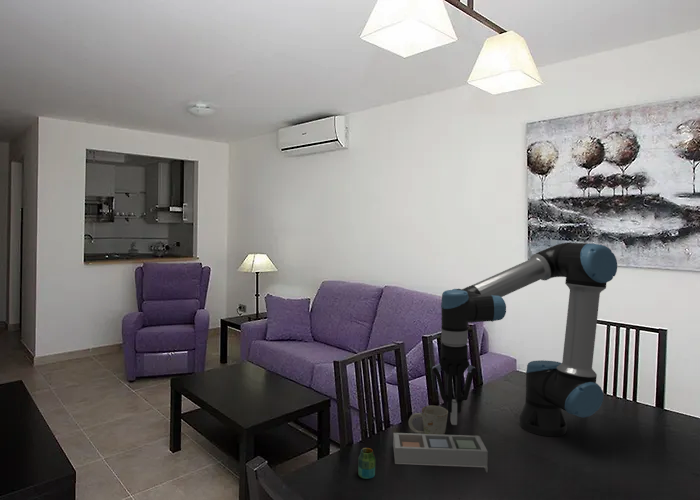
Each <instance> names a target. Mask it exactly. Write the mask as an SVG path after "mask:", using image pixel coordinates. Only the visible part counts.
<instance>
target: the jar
mask: <svg viewBox="0 0 700 500" xmlns="http://www.w3.org/2000/svg"><path fill="white" fill-rule="evenodd" d="M359 453H360V454H359V456H358V457H357V458H358V459H357V460H358V461H357V463H358V464H357V466H358V467H357V468H358V470H357V472H358V477H360V478H361V479H364V480H365V479H366V480H368V479H372V478H374V477H375V475H376V456H375V454H374V453H375V452H374V450H373V449H372V448H369V447H363V448H362V449H360V452H359Z"/></svg>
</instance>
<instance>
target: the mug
mask: <svg viewBox="0 0 700 500" xmlns="http://www.w3.org/2000/svg"><path fill="white" fill-rule="evenodd" d="M448 416H449V413H448V410H447V408H445V407H443V406H440V405H426V406H423V407H422V408H421V412H417V413H415V412H414V413H412V414H411V415H410V417H409V418H408V427H409V429H410V430H412V432H414V434H441V435H446V430H447V423H448ZM416 418H422V426H423V430H417V429H416V428H415V427H414V425H413V421H414V419H416Z"/></svg>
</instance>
